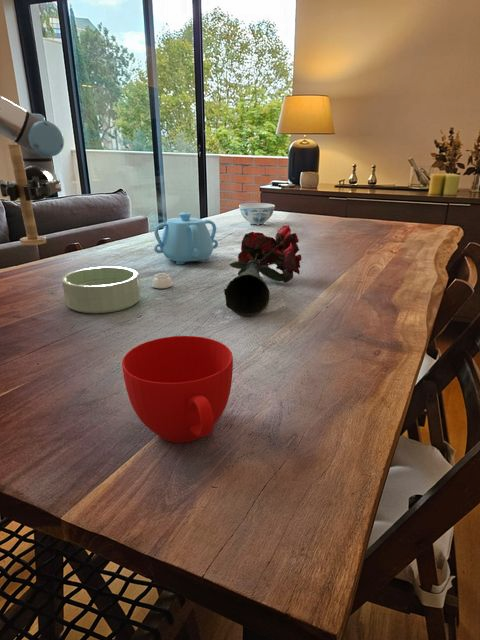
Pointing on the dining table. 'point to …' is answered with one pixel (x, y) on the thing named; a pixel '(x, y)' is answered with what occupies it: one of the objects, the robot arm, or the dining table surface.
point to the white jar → (162, 281)
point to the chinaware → (256, 212)
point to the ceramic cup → (179, 385)
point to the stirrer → (24, 198)
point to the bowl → (101, 289)
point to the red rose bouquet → (261, 270)
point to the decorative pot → (186, 239)
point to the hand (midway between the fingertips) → (19, 193)
